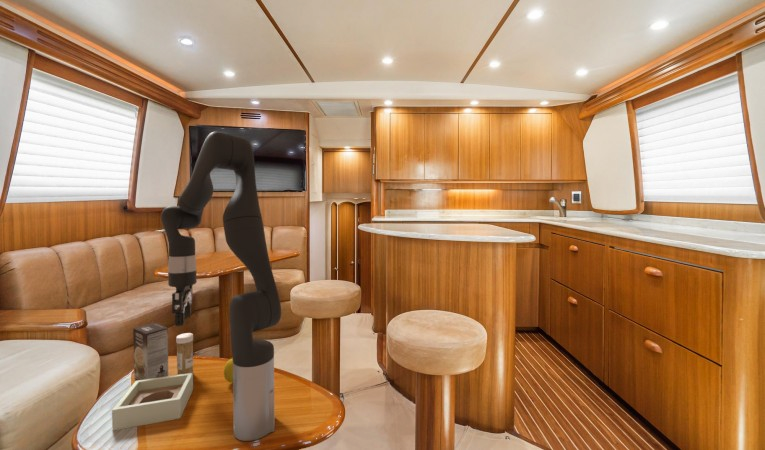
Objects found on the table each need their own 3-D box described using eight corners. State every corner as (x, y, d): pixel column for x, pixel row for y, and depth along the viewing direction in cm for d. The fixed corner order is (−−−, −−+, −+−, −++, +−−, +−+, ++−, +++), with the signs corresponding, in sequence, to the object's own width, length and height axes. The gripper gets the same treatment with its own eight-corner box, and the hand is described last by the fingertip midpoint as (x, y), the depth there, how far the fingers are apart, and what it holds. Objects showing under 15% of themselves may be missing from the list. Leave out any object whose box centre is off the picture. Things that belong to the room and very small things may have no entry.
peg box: (193, 389, 93) (192, 372, 93) (180, 418, 80) (179, 399, 80) (136, 398, 89) (135, 380, 88) (112, 430, 75) (112, 410, 75)
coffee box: (133, 377, 100) (131, 327, 99) (155, 369, 105) (155, 321, 105) (146, 386, 95) (145, 333, 94) (170, 376, 100) (169, 327, 100)
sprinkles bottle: (194, 377, 100) (193, 335, 99) (176, 382, 97) (176, 339, 97) (193, 371, 104) (192, 331, 103) (176, 375, 101) (176, 334, 101)
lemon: (247, 381, 98) (247, 356, 98) (230, 389, 93) (230, 363, 93) (236, 376, 101) (236, 351, 100) (220, 384, 96) (219, 358, 96)
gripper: (190, 273, 94) (191, 327, 94) (200, 265, 107) (201, 313, 108) (161, 274, 91) (162, 330, 92) (175, 266, 104) (175, 315, 105)
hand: (183, 320), depth 100 cm, fingers open, 8 cm apart
